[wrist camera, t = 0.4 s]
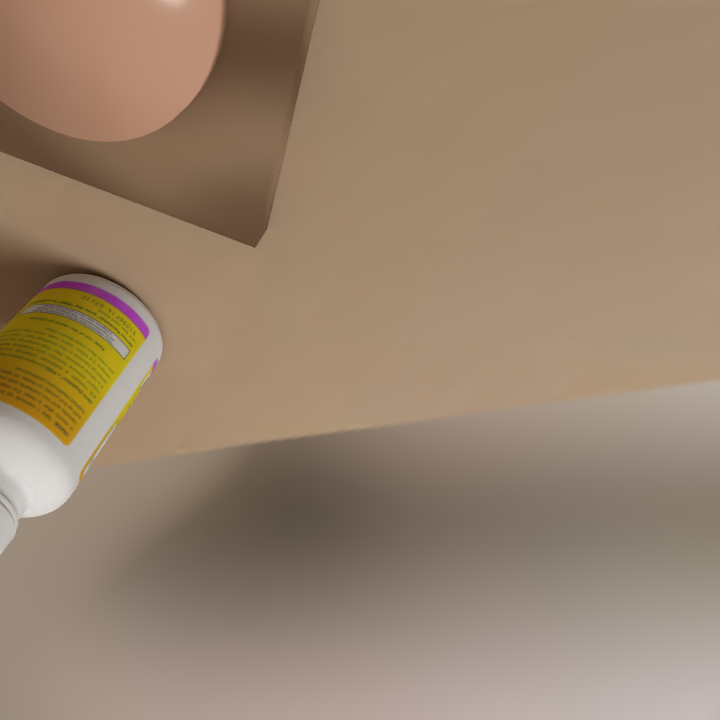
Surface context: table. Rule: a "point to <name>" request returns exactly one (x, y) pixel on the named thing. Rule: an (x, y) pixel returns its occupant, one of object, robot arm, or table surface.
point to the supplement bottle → (66, 388)
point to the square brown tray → (201, 131)
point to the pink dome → (107, 62)
